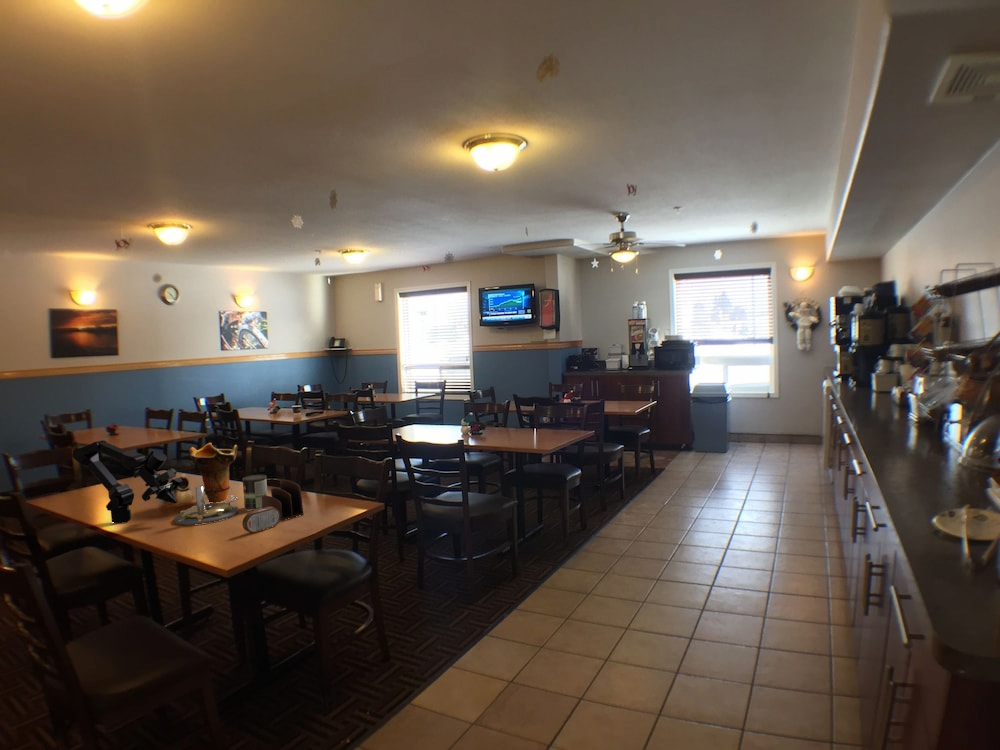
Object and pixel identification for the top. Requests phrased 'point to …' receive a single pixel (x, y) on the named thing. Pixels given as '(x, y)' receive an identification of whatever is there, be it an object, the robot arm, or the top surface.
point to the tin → (261, 519)
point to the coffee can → (254, 491)
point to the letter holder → (285, 499)
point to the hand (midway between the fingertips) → (176, 502)
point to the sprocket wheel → (205, 507)
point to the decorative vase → (214, 470)
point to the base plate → (206, 518)
